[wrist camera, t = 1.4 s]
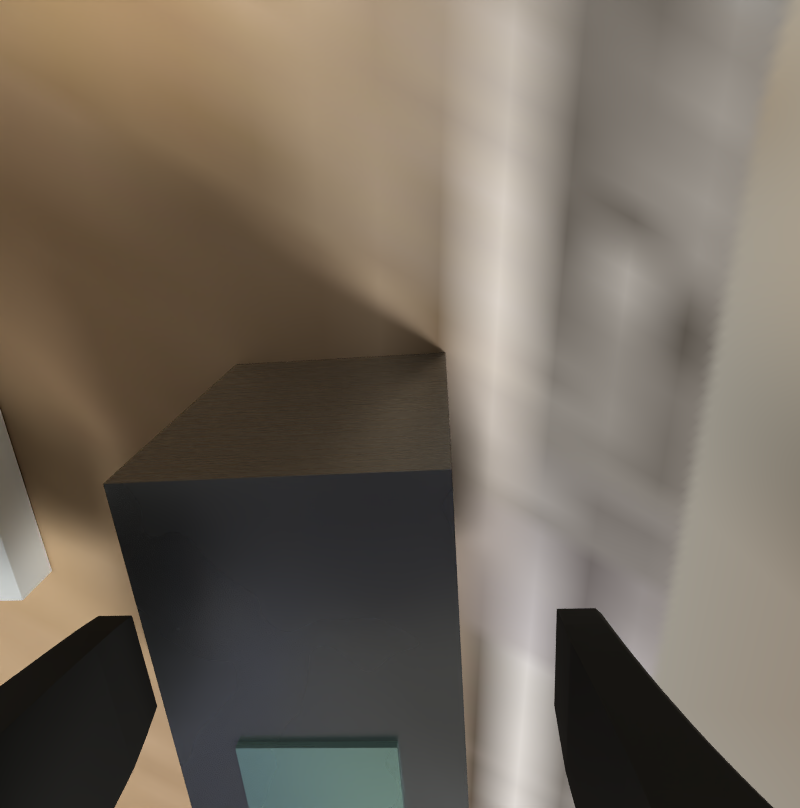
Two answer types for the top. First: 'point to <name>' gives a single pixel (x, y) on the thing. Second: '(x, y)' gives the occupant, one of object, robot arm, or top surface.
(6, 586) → the tray
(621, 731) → the robot arm
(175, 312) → the top surface
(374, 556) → the block
